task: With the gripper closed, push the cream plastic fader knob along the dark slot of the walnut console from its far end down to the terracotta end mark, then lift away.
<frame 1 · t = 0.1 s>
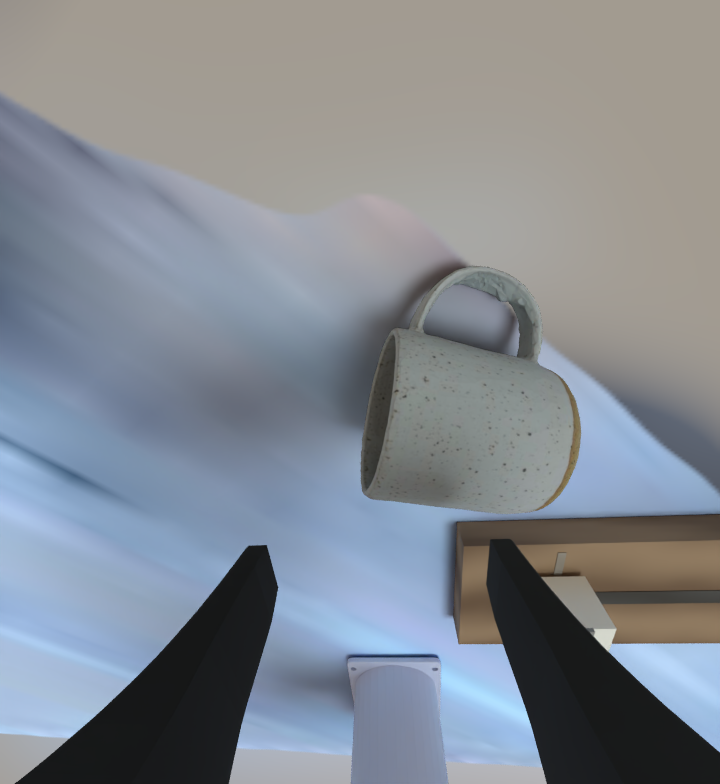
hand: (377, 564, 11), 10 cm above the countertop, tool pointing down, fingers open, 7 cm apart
ceramic mug: (444, 367, 19), on the countertop
fader console: (627, 570, 25), on the countertop
fader knob: (566, 628, 22), point 4 cm above the countertop, slide at 0.0 cm
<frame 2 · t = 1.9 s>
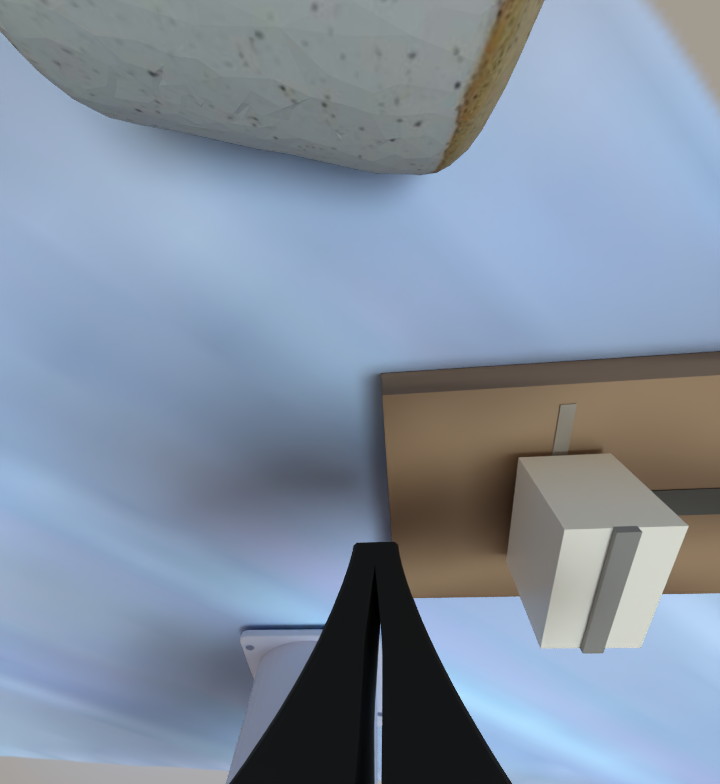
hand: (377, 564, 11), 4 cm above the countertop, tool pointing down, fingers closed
fader console: (678, 467, 14), on the countertop
fader knob: (577, 549, 11), point 4 cm above the countertop, slide at 0.0 cm
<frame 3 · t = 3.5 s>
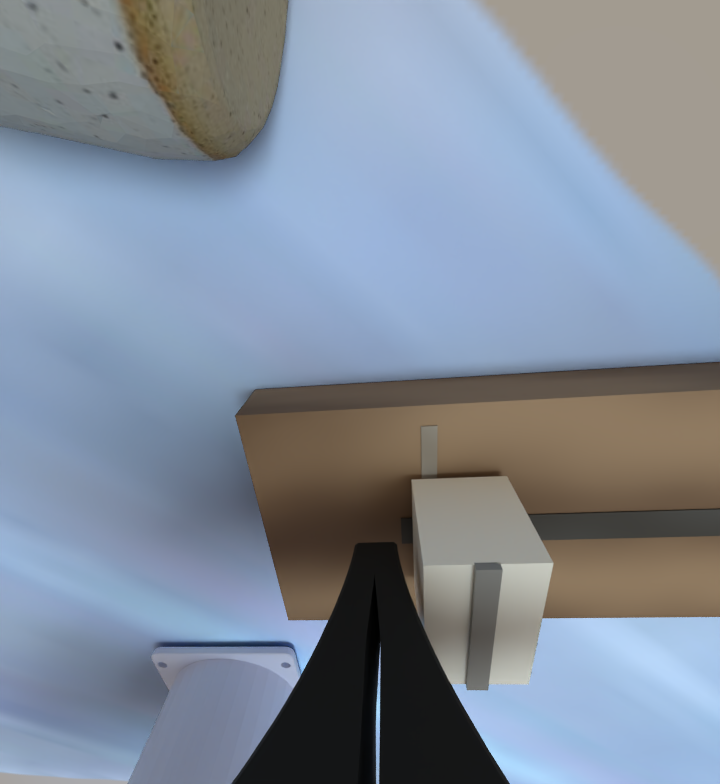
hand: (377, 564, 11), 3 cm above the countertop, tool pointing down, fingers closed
fader console: (574, 486, 14), on the countertop
fader knob: (467, 578, 11), point 4 cm above the countertop, slide at 0.9 cm, touching gripper
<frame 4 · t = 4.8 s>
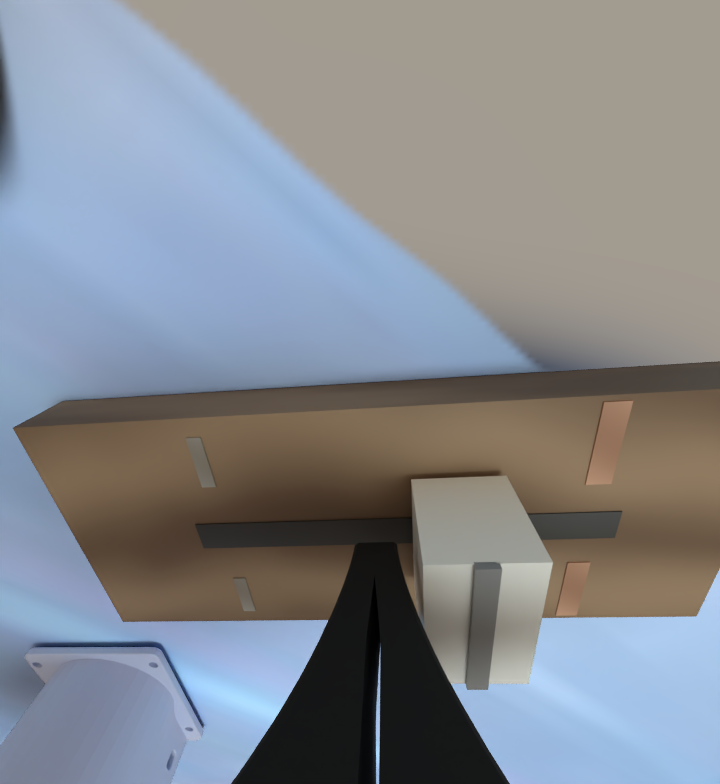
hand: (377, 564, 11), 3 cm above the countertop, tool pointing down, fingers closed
fader console: (384, 493, 14), on the countertop
fader knob: (467, 577, 11), point 4 cm above the countertop, slide at 8.5 cm, touching gripper
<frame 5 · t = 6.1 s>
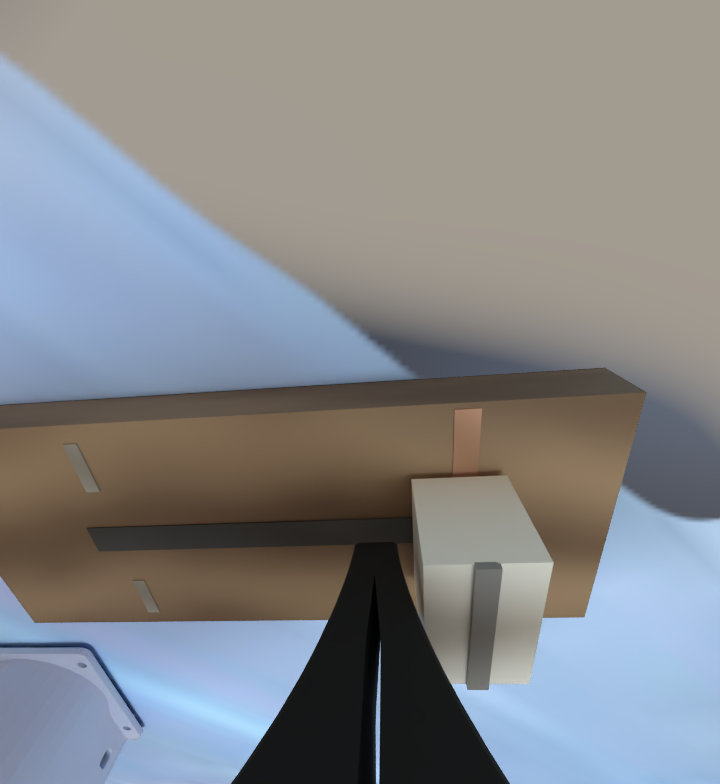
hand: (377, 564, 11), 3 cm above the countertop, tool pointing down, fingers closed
fader console: (283, 496, 15), on the countertop
fader knob: (467, 577, 11), point 4 cm above the countertop, slide at 12.7 cm, touching gripper
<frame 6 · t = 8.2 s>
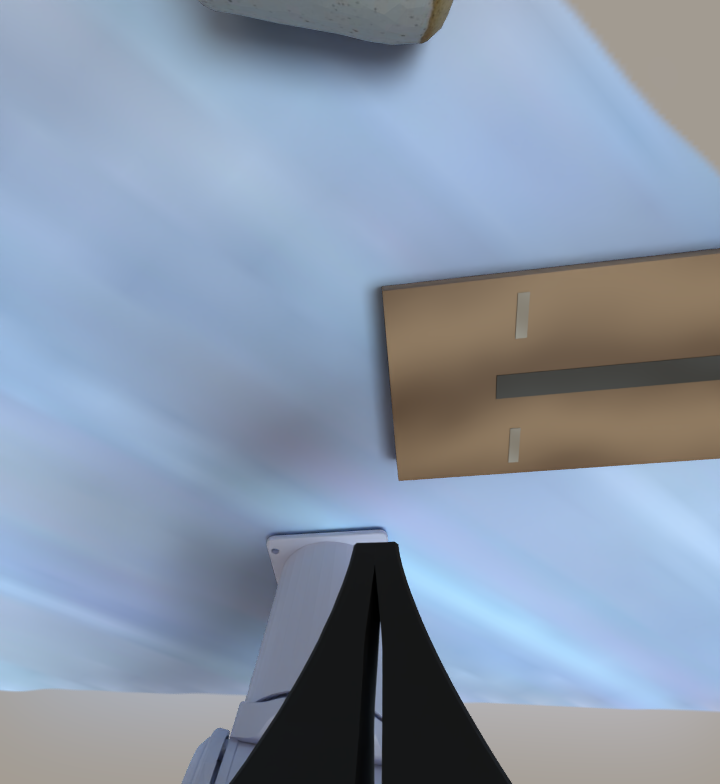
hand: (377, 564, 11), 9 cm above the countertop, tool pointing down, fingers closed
fader console: (622, 360, 18), on the countertop
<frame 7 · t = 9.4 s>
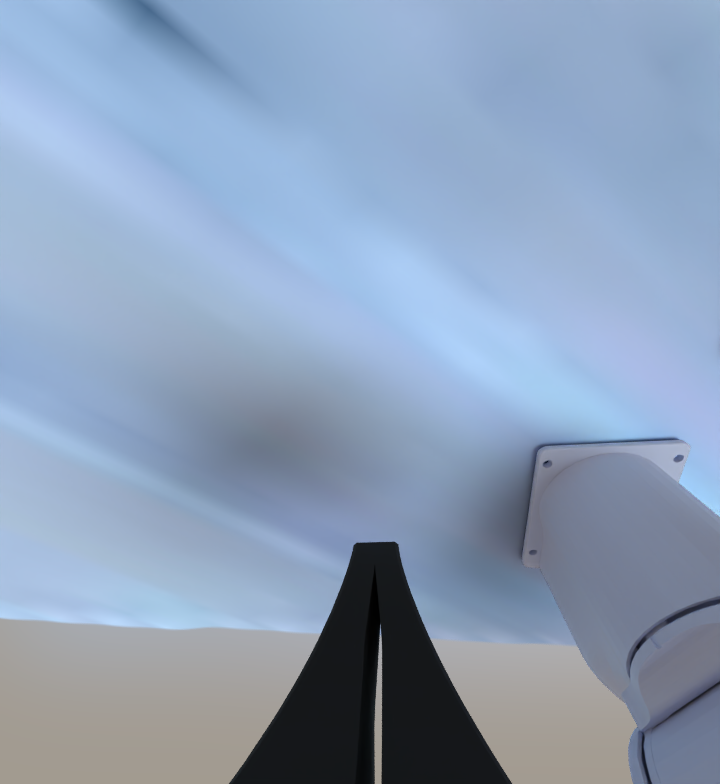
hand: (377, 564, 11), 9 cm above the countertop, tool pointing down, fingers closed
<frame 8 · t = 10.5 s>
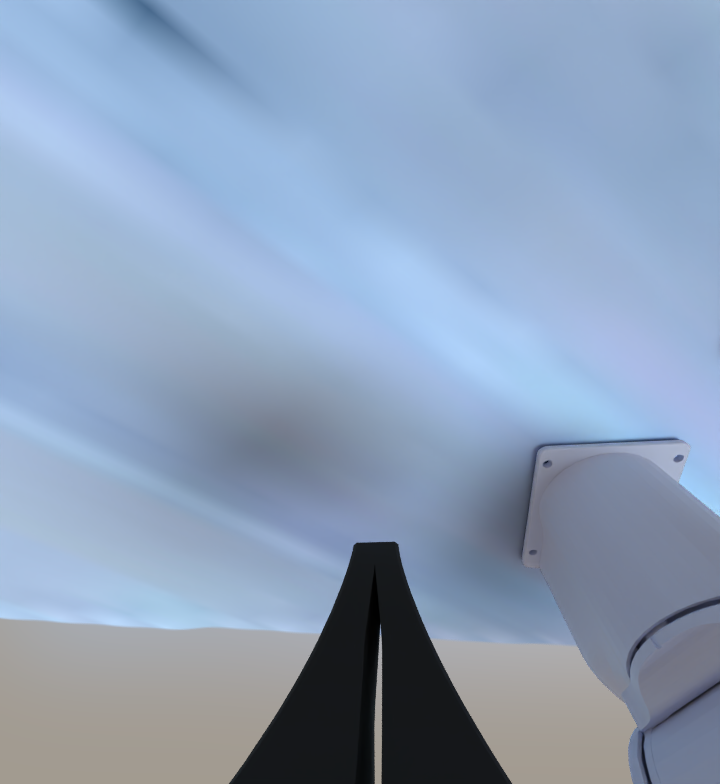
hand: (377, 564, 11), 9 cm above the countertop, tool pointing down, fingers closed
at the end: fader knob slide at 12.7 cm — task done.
